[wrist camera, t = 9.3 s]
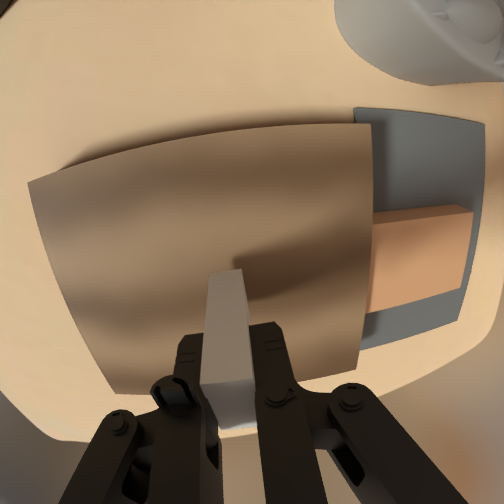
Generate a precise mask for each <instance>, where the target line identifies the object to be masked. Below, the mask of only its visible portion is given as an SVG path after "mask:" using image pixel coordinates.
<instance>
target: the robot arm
mask: <svg viewBox="0 0 504 504" xmlns="http://www.w3.org/2000/svg"><path fill="white" fill-rule="evenodd" d="M11 1H12V0H0V15H1V14H2V12H3V11H4V10H5V9H6V7H7V6H8V5H9V4H10V2H11ZM150 394H151V395H152V397H153V399H154V400H155V402H156V403H157V405H158V406H159V408H158V409H157V410H154V411H152V412H149V413H145V414H142V415H138V416H134V414H133V413H132V412H130V411H128V410H121V409H119V410H115V411H112V412H111V413H109V414H108V415H106V417H105V418H104V419H103V420H102V422H101V424H100V426H99V427H98V429H97V431H96V433H95V435H94V436H93V438H92V440H91V442H90V444H89V446H88V448H87V449H86V451H85V453H84V455H83V457H82V459H81V460H80V462H79V464H78V466H77V468H76V470H75V472H74V474H73V476H72V478H71V480H70V482H69V483H68V486H67V487H66V489H65V491H64V493H63V496H62V497H61V500H60V501H59V504H224V498H223V474H222V444H221V440H220V438H219V436H218V425H219V427H220V429H221V430H229V429H239V428H248V427H256V426H257V430H258V438H259V447H260V456H261V464H262V472H263V481H264V489H265V498H266V504H328V502H327V498H326V493H325V489H324V485H323V481H322V477H321V473H320V469H319V465H318V461H317V457H316V452H315V449H324V450H327V452H328V453H329V455H330V456H331V458H332V460H333V461H334V463H335V464H336V466H337V467H338V469H339V471H340V472H341V474H342V475H343V477H344V478H345V480H346V481H347V483H348V484H349V486H350V487H351V489H352V491H353V492H354V493H355V495H356V497H357V498H358V500H359V501H360V502H361V504H468V502H467V501H466V500H465V499H464V498H463V497H462V496H461V494H460V493H459V492H458V491H457V490H456V489H455V487H454V486H453V485H452V484H451V483H450V482H449V480H448V479H447V478H446V477H445V476H444V475H443V474H442V472H441V471H440V470H439V469H438V468H437V466H435V464H434V463H433V462H432V461H431V460H430V458H429V457H428V456H427V455H426V454H425V453H424V451H423V450H422V449H421V448H420V447H419V446H418V444H417V443H416V442H415V441H414V440H413V439H412V437H411V436H410V435H409V434H408V433H407V432H406V431H405V429H404V428H403V427H402V426H401V425H400V424H399V422H398V421H397V420H396V419H395V418H394V417H393V415H392V414H391V413H390V412H389V411H388V410H387V408H386V407H385V406H384V405H383V404H382V403H381V401H380V400H379V399H378V398H377V397H376V396H375V394H374V393H373V392H372V391H371V390H370V389H369V388H367V387H366V386H365V385H362V384H358V383H346V384H343V385H340V386H338V387H337V388H336V389H334V390H333V391H332V393H319V392H311V391H308V390H306V389H304V388H302V387H301V386H300V385H299V384H298V383H297V382H296V380H295V378H294V374H293V370H292V366H291V362H290V358H289V355H288V351H287V347H286V343H285V339H284V335H283V331H282V328H281V327H280V326H279V325H278V324H277V323H276V322H275V321H273V322H267V323H261V324H255V325H251V319H250V313H249V307H248V302H247V296H246V291H245V285H244V280H243V274H242V269H236V270H229V271H223V272H217V273H210V275H209V285H208V294H207V304H206V314H205V325H204V333H196V334H188V335H184V337H183V338H182V339H181V341H180V342H179V344H178V348H177V356H176V359H175V365H174V371H173V375H168V376H165V377H163V378H161V379H159V380H157V381H156V382H155V383H154V384H153V385H152V387H151V390H150Z"/></svg>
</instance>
